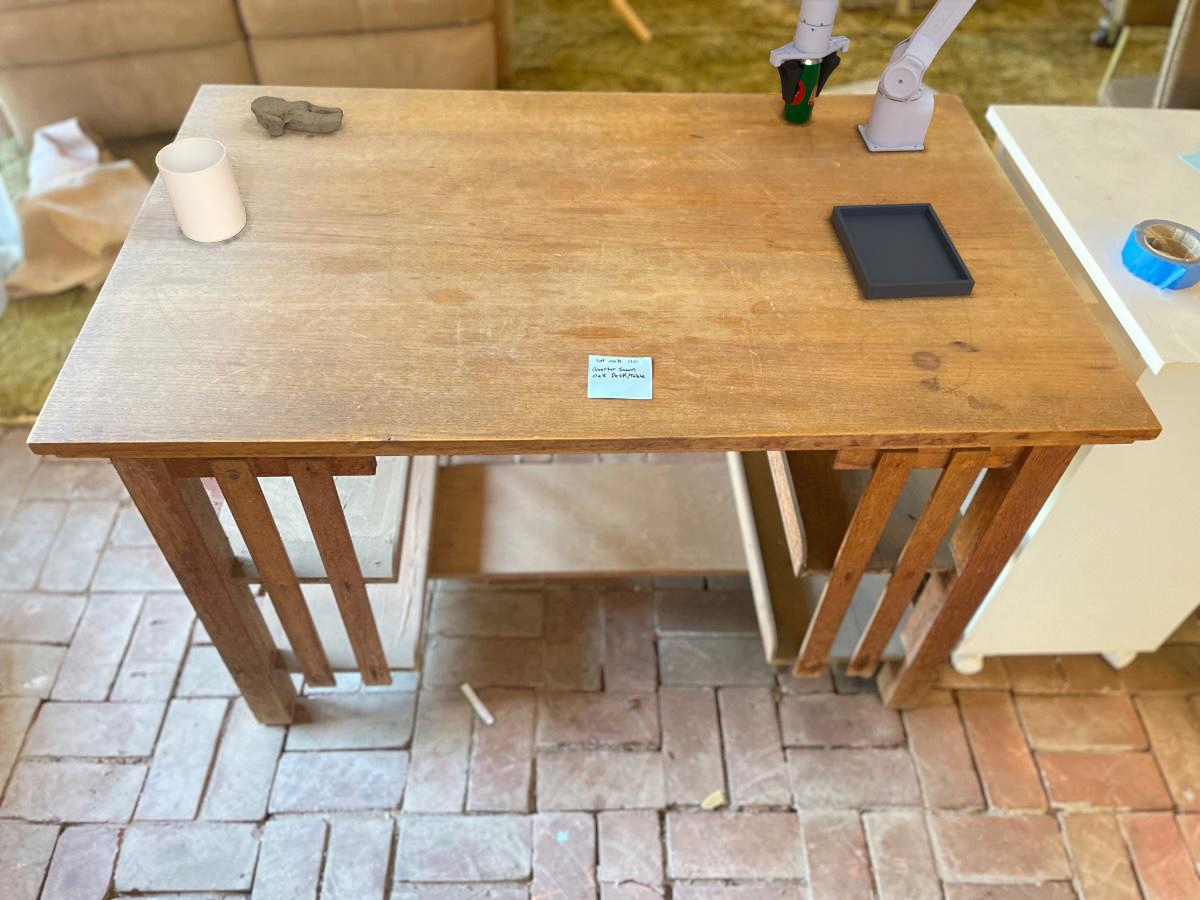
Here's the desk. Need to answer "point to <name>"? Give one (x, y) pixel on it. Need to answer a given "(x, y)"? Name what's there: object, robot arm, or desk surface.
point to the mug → (202, 189)
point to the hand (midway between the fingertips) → (800, 97)
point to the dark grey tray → (900, 251)
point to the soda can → (804, 92)
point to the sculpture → (295, 116)
